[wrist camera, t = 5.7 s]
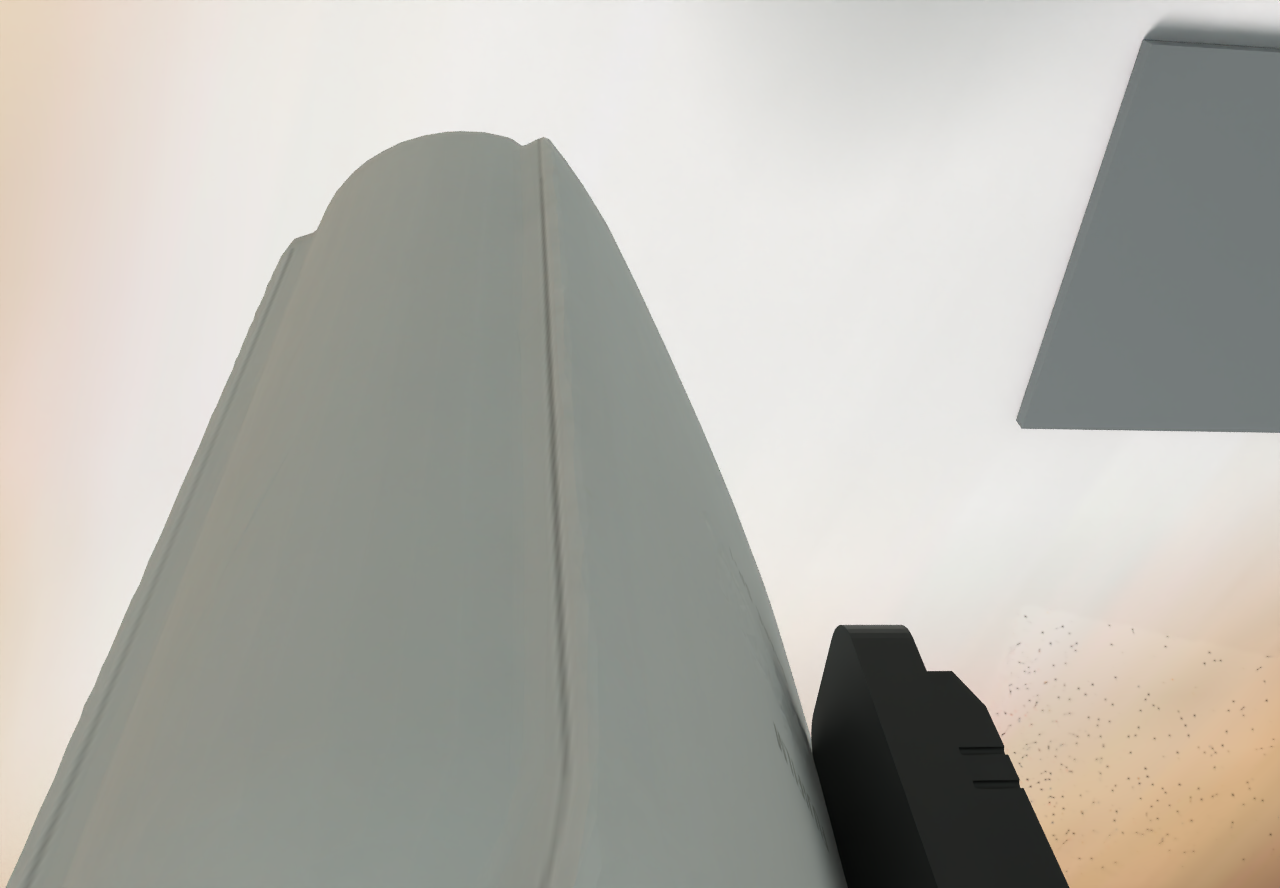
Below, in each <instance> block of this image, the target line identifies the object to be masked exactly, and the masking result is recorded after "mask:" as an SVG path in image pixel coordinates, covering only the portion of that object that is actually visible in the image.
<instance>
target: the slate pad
mask: <svg viewBox="0 0 1280 888" xmlns="http://www.w3.org/2000/svg"><path fill="white" fill-rule="evenodd" d="M1016 421H1017V422H1018V424H1019V425H1020V427H1021V428H1022V429H1083V430H1145V431H1207V432H1270V433H1280V49H1279V48H1264V47H1248V46H1232V45H1217V44H1201V43H1185V42H1170V41H1154V40H1143V41H1142V44H1141V47H1140V50H1139V53H1138V56H1137V59H1136V62H1135V65H1134V68H1133V71H1132V74H1131V77H1130V80H1129V83H1128V86H1127V89H1126V92H1125V95H1124V98H1123V101H1122V104H1121V107H1120V110H1119V113H1118V116H1117V119H1116V122H1115V125H1114V128H1113V131H1112V134H1111V137H1110V140H1109V143H1108V146H1107V149H1106V152H1105V155H1104V158H1103V161H1102V164H1101V167H1100V170H1099V173H1098V176H1097V179H1096V182H1095V185H1094V188H1093V191H1092V194H1091V197H1090V200H1089V203H1088V206H1087V209H1086V212H1085V215H1084V218H1083V221H1082V224H1081V227H1080V230H1079V233H1078V236H1077V239H1076V242H1075V245H1074V248H1073V251H1072V254H1071V257H1070V260H1069V263H1068V266H1067V269H1066V272H1065V275H1064V278H1063V281H1062V284H1061V287H1060V290H1059V293H1058V296H1057V299H1056V302H1055V305H1054V308H1053V311H1052V314H1051V317H1050V320H1049V323H1048V326H1047V329H1046V332H1045V335H1044V338H1043V341H1042V344H1041V347H1040V350H1039V353H1038V356H1037V359H1036V362H1035V365H1034V368H1033V371H1032V374H1031V377H1030V380H1029V383H1028V386H1027V389H1026V392H1025V395H1024V398H1023V401H1022V404H1021V407H1020V410H1019V413H1018V416H1017V419H1016Z"/></svg>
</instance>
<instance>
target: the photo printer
mask: <svg viewBox="0 0 1280 888" xmlns="http://www.w3.org/2000/svg"><path fill="white" fill-rule="evenodd" d="M6 888H848V886H847V883H846V879H845V875H844V872H843V868H842V864H841V860H840V857H839V853H838V849H837V845H836V841H835V837H834V834H833V830H832V826H831V822H830V818H829V815H828V811H827V807H826V803H825V800H824V796H823V792H822V788H821V784H820V781H819V777H818V773H817V770H816V766H815V763H814V759H813V755H812V742H811V737H810V733H809V730H808V726H807V723H806V720H805V716H804V713H803V709H802V706H801V703H800V699H799V696H798V693H797V689H796V686H795V682H794V679H793V676H792V672H791V669H790V666H789V662H788V659H787V656H786V652H785V649H784V646H783V642H782V639H781V636H780V632H779V629H778V626H777V623H776V620H775V616H774V613H773V610H772V607H771V604H770V601H769V598H768V595H767V592H766V589H765V586H764V583H763V581H762V578H761V575H760V573H759V570H758V567H757V565H756V562H755V559H754V557H753V554H752V551H751V549H750V546H749V544H748V541H747V538H746V536H745V533H744V530H743V528H742V525H741V522H740V520H739V517H738V514H737V512H736V509H735V507H734V504H733V502H732V499H731V497H730V494H729V492H728V489H727V487H726V484H725V482H724V480H723V477H722V475H721V472H720V470H719V467H718V465H717V463H716V460H715V458H714V456H713V453H712V451H711V448H710V446H709V444H708V441H707V439H706V437H705V434H704V432H703V430H702V427H701V425H700V423H699V420H698V418H697V416H696V414H695V411H694V409H693V407H692V405H691V403H690V400H689V398H688V396H687V394H686V391H685V389H684V387H683V385H682V382H681V380H680V378H679V376H678V374H677V371H676V369H675V367H674V365H673V362H672V360H671V358H670V356H669V353H668V351H667V349H666V347H665V345H664V342H663V340H662V338H661V336H660V334H659V332H658V330H657V327H656V325H655V323H654V321H653V319H652V317H651V315H650V312H649V310H648V308H647V306H646V304H645V302H644V299H643V297H642V295H641V293H640V291H639V289H638V287H637V284H636V282H635V280H634V278H633V276H632V274H631V272H630V270H629V268H628V266H627V264H626V262H625V260H624V258H623V256H622V254H621V252H620V250H619V248H618V246H617V244H616V242H615V240H614V238H613V236H612V234H611V232H610V230H609V228H608V226H607V224H606V222H605V221H604V219H603V217H602V216H601V214H600V212H599V211H598V209H597V207H596V206H595V204H594V202H593V201H592V199H591V197H590V196H589V194H588V193H587V191H586V189H585V188H584V186H583V185H582V183H581V182H580V180H579V179H578V177H577V176H576V175H575V173H574V172H573V170H572V169H571V167H570V166H569V165H568V163H567V162H566V160H565V159H564V158H563V156H562V155H561V154H560V152H559V151H558V150H557V149H556V147H555V146H554V145H553V144H552V142H551V141H550V140H549V139H547V138H544V137H543V138H540V139H537V140H535V141H533V142H531V143H529V144H527V145H524V146H521V145H520V144H518V143H517V142H516V141H514V140H512V139H510V138H508V137H504V136H499V135H494V134H490V133H485V132H465V131H457V132H444V133H437V134H431V135H425V136H421V137H418V138H415V139H411V140H408V141H404V142H401V143H399V144H397V145H395V146H393V147H391V148H389V149H387V150H385V151H383V152H381V153H379V154H378V155H376V156H374V157H373V158H371V159H370V160H368V161H366V162H365V163H364V164H363V165H362V166H360V167H359V168H358V169H357V170H356V171H355V172H354V173H353V174H351V175H350V177H349V178H348V179H347V180H346V181H345V182H344V183H343V185H342V186H341V187H340V188H339V189H338V191H337V192H336V193H335V195H334V197H333V198H332V200H331V202H330V204H329V205H328V207H327V209H326V211H325V213H324V216H323V218H322V220H321V222H320V224H319V227H318V229H317V230H316V231H315V232H314V233H311V234H308V235H305V236H302V237H299V238H296V239H294V240H293V241H292V243H291V244H290V245H289V247H288V248H287V249H286V251H285V252H284V253H283V255H282V256H281V258H280V260H279V263H278V265H277V267H276V269H275V271H274V272H273V275H272V278H271V280H270V281H269V283H268V285H267V288H266V291H265V294H264V297H263V299H262V301H261V303H260V305H259V307H258V309H257V311H256V313H255V317H254V320H253V322H252V324H251V326H250V328H249V330H248V333H247V336H246V338H245V340H244V342H243V345H242V348H241V350H240V353H239V355H238V357H237V359H236V361H235V364H234V367H233V370H232V372H231V374H230V376H229V379H228V381H227V383H226V385H225V388H224V390H223V392H222V395H221V397H220V399H219V402H218V404H217V406H216V408H215V410H214V412H213V414H212V416H211V419H210V421H209V424H208V426H207V429H206V431H205V434H204V436H203V438H202V441H201V443H200V446H199V448H198V450H197V453H196V455H195V457H194V459H193V462H192V464H191V466H190V468H189V470H188V473H187V475H186V477H185V479H184V482H183V484H182V486H181V489H180V491H179V493H178V496H177V498H176V500H175V503H174V505H173V508H172V510H171V512H170V515H169V517H168V519H167V522H166V524H165V527H164V529H163V531H162V534H161V536H160V538H159V540H158V542H157V544H156V546H155V549H154V551H153V553H152V555H151V557H150V559H149V562H148V564H147V567H146V569H145V572H144V575H143V577H142V580H141V582H140V585H139V587H138V589H137V591H136V592H135V594H134V596H133V598H132V600H131V602H130V605H129V607H128V609H127V612H126V614H125V616H124V619H123V621H122V623H121V626H120V628H119V630H118V633H117V635H116V637H115V640H114V642H113V644H112V647H111V649H110V651H109V654H108V656H107V658H106V660H105V662H104V664H103V666H102V668H101V671H100V673H99V676H98V678H97V681H96V684H95V686H94V688H93V690H92V692H91V694H90V696H89V698H88V700H87V701H86V703H85V705H84V708H83V711H82V714H81V718H80V720H79V722H78V724H77V726H76V728H75V731H74V733H73V735H72V737H71V739H70V741H69V743H68V746H67V748H66V751H65V753H64V756H63V758H62V761H61V763H60V766H59V768H58V771H57V774H56V776H55V779H54V781H53V783H52V785H51V787H50V789H49V792H48V794H47V796H46V798H45V800H44V802H43V804H42V806H41V809H40V811H39V813H38V815H37V818H36V820H35V822H34V825H33V827H32V830H31V832H30V834H29V837H28V839H27V841H26V844H25V846H24V849H23V851H22V853H21V855H20V857H19V860H18V862H17V864H16V866H15V868H14V871H13V873H12V875H11V877H10V879H9V881H8V884H7V886H6Z"/></svg>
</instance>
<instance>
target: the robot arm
mask: <svg viewBox="0 0 1280 888" xmlns="http://www.w3.org/2000/svg"><path fill="white" fill-rule="evenodd" d="M811 742H812V755H813V759H814V763H815V766H816V770H817V773H818V777H819V781H820V784H821V788H822V792H823V796H824V800H825V803H826V807H827V811H828V815H829V818H830V822H831V826H832V830H833V834H834V837H835V841H836V845H837V849H838V853H839V857H840V860H841V864H842V868H843V872H844V875H845V879H846V883H847V886H848V888H1069V886H1068V884H1067V881H1066V879H1065V877H1064V875H1063V873H1062V871H1061V868H1060V866H1059V864H1058V862H1057V860H1056V858H1055V855H1054V853H1053V851H1052V849H1051V847H1050V845H1049V842H1048V840H1047V838H1046V836H1045V834H1044V832H1043V829H1042V827H1041V825H1040V823H1039V821H1038V819H1037V816H1036V814H1035V812H1034V810H1033V808H1032V806H1031V803H1030V801H1029V799H1028V797H1027V795H1026V792H1025V790H1024V788H1020V785H1019V780H1020V779H1019V777H1018V775H1017V773H1016V771H1015V769H1014V766H1013V764H1012V762H1011V760H1010V758H1009V756H1008V755H1005V753H1004V745H1003V743H1002V740H1001V738H1000V736H999V734H998V732H997V730H996V727H995V725H994V723H993V721H992V719H991V717H990V714H989V712H988V710H987V708H986V706H985V705H984V704H983V703H982V702H981V701H980V700H979V699H978V698H977V697H976V696H975V695H974V694H973V692H972V691H971V690H970V689H969V688H968V687H967V686H966V685H965V684H964V683H963V682H962V681H961V680H960V679H959V678H958V677H957V676H956V675H955V674H954V673H953V672H952V671H926V668H925V666H924V663H923V661H922V659H921V656H920V654H919V651H918V649H917V647H916V644H915V642H914V639H913V637H912V635H911V633H910V631H909V630H908V629H907V628H906V627H905V626H903V625H839V626H838V627H837V628H836V629H835V631H834V633H833V636H832V640H831V644H830V648H829V652H828V656H827V660H826V664H825V668H824V672H823V676H822V681H821V685H820V689H819V693H818V697H817V701H816V705H815V709H814V713H813V719H812V730H811Z"/></svg>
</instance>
